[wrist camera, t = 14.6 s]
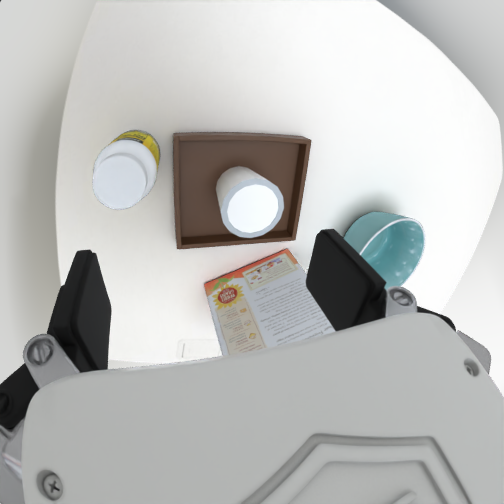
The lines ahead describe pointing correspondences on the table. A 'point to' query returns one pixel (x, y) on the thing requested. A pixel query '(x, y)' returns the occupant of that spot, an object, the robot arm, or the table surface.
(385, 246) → the bowl
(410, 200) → the table surface
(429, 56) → the table surface
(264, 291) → the cracker box
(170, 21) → the table surface
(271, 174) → the tray
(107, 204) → the pill bottle
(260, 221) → the white cylinder
